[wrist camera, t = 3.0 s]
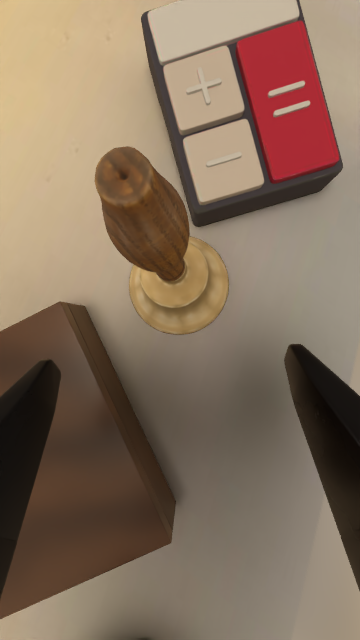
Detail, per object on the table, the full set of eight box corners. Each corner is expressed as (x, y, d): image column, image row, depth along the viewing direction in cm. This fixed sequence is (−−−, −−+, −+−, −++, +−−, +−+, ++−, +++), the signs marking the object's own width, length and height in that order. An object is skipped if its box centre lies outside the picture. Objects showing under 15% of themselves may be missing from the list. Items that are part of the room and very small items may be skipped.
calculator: (194, 211, 18) (136, -1, 17) (194, 231, 22) (147, 61, 22) (352, 163, 17) (294, -56, 17) (320, 194, 21) (273, 19, 21)
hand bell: (217, 343, 21) (289, 399, 5) (121, 323, 21) (-92, 317, 6) (237, 245, 21) (369, -5, 5) (140, 228, 22) (-13, -48, 6)
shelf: (176, 501, 21) (171, 543, 17) (27, 569, 21) (-11, 624, 17) (84, 305, 22) (59, 301, 18) (-56, 375, 22) (-110, 386, 18)
